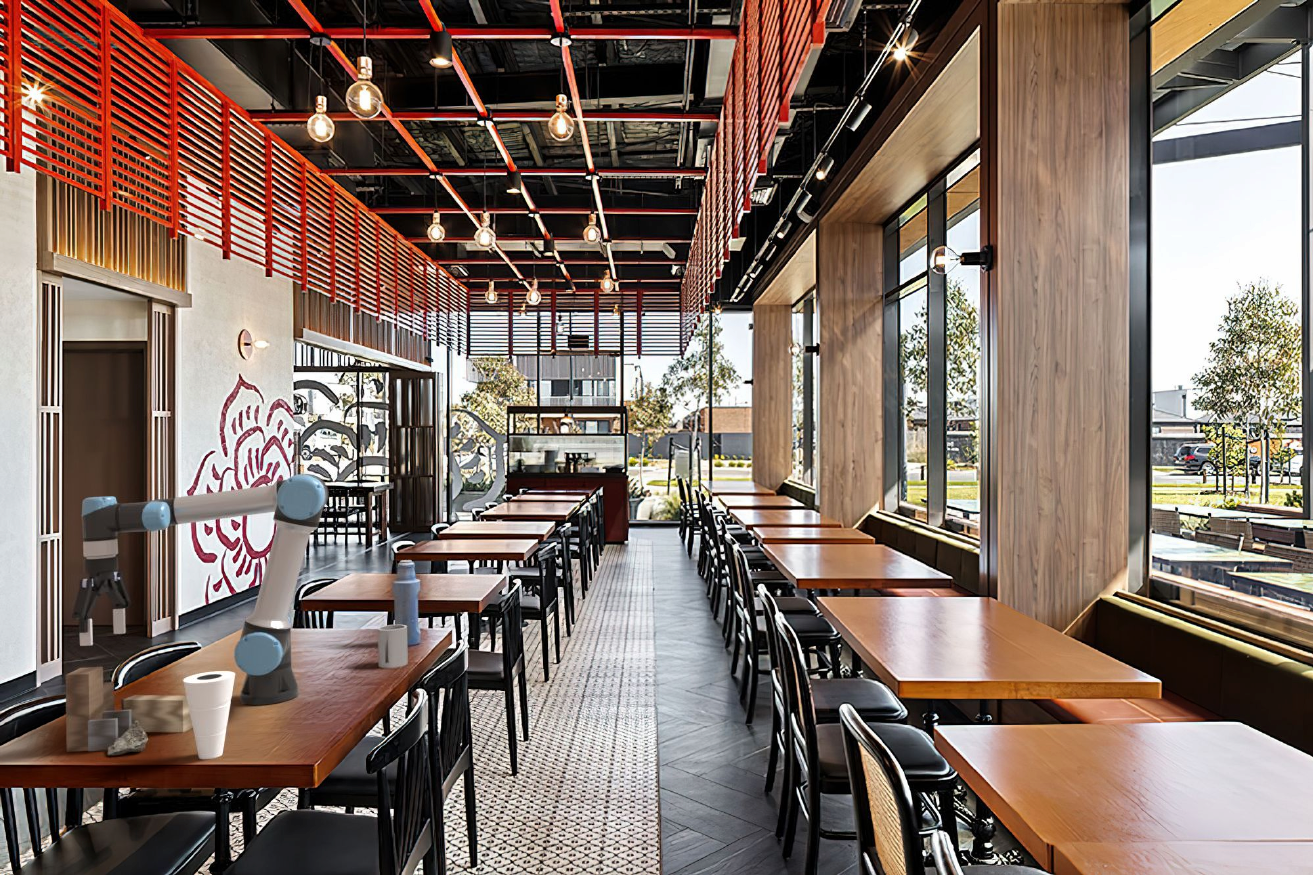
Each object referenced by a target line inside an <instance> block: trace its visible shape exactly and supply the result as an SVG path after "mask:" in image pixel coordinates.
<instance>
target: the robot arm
mask: <svg viewBox="0 0 1313 875" xmlns="http://www.w3.org/2000/svg"><path fill="white" fill-rule="evenodd" d="M328 500H329V489H328V486H327V484H326V482H325V481H324V480H323V479H322V478H321V477H319V476H317V475H314V474H310V473H305V474H303V473H301V474H296V475H293V476H290V477H288V478H287V479H283V480H276V481H275V482H274V483H273V484H272V485H264V486H263V485H262V486H258V487H257V486H255V487H254V486H253V487H247V488H241V489H240V488H239V489H232V490H225V491H217V492H209V493H208V492H207V493H202V494H201V493H199V494H193V495H185V496H177V497H171V498H158V499H153V500H149V501H142V502H129V503H118V501H117V498H116V496H93V497H86V498H84V499H83V500H82V507H81V508H82V509H81V524H82V525H81V526H82V541H83V543H82V544H83V545H82V548H83V557H84V559H83V573H84V574H85V575H86V574H88V578H83V579H82V578H81V579H79V587H78V588H79V589H78V591H77V596H76V599H75V604H74V607H73V611H72V614H71V618H72V620H74V621H78V632H79V645H80V647H81V646H83V647H84V646H85V647H87V646H93V645H94V642H93V641H94V640H93V619H92V618H90V617H91V615H92V613H93V610H94V609H95V606H96V604H97V602H98V599H99V597H101V596H102V594H106V596H107V597H108V599H109V600H110V602H111V603H112V606H114V609H112V622H113V623H112V624H113V625H112V626H113V635H117V634H118V635H122V634H126V632H127V629H126V609H129V608H130V605H131V603H132V602H131V599H130V596H129V592H128V589H127V587H126V585H125V582H124V577H123V576H124V575H123V572H122V571H118V570H119V557H118V556H116V555H118V554H119V546H118V533H133V532H135V533H136V532H137V533H139V532H156V531H164V530H167V529H168V527H170V526H171V527H172V526H177V525H184V524H185V525H186V524H191V523H199V522H205V521H206V522H207V521H214V520H215V521H216V520H222V519H230V518H237V517H245V516H246V517H247V516H252V515H259V514H267V513H274V514H273V518H272V520H273V522H274V523H275V525H276V529H275V533H274V537H273V540H272V544H271V548H270V552H269V555H268V559H267V562H266V567H265V569H264V574H263V577H262V581H261V585H260V588H259V591H258V596H257V598H256V603H255V607H254V610H253V613H252V614H251V615H249V616H246V617H245V620H244V624H243V627H242V631H241V634H240V637H239V640H238V642H237V643H236V644H235V647H234V652H233V654H234V655H233V658H234V662H235V664H236V666H237V667H238V668H239V669H240V670H241V671H242V672H243V673H245V678H244V681H243V684H242V687H241V690H240V694H239V701H240V703H241V704H244V705H249V706H251V705H252V706H261V705H262V706H263V705H264V706H265V705H271V704H277V703H282V702H286V701H290V700H292V699H295V698H297V697H298V696H299V685H298V682H297V679H296V676H295V674H294V670H293V668H292V630H291V629H292V626H293V625H292V622H291V621H292V620H291V617H289V613H290V609H291V605H292V603H293V602H292V601H293V597H294V594H295V590H296V587H297V583H298V579H299V576H300V573H301V572H300V571H301V569H302V565H303V561H304V558H305V553H306V550H307V546H308V542H309V539H310V535H311V533H312V532H313V531H315V530H317V529H318V528H319V525H320V521H321V517H322V513H323V510H324V508H325V506H326V504H327V502H328Z"/></svg>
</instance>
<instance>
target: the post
mask: <svg viewBox="0 0 1313 875" xmlns="http://www.w3.org/2000/svg"><path fill="white" fill-rule="evenodd" d="M65 715H66V716H65V717H66V718H65V723H66V726H65V728H66V732H65V734H66V735H65V736H66V752H67V753H68V752H69V753H70V752H71V753H73V752H85V751H88V752H98V751H108V748H109V747H110V746H111V745H112V744H113V743H114V742H115V741H116V740H117V739H119V738H120V737H122V735H123V734H124V733H125V732H126V731H127V730H128V729H129V728H130V726H131V725H132V722H131V709H129V710H122V709H115V683H114V681H109V682H106V681H105V682H104V667H103V666H91V667H89V666H88V667H79V668H77V669H76V670H74V671H71V672H69V673H67V674H66V675H65Z"/></svg>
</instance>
